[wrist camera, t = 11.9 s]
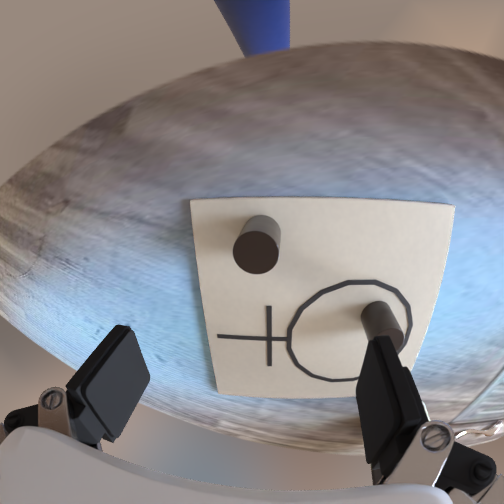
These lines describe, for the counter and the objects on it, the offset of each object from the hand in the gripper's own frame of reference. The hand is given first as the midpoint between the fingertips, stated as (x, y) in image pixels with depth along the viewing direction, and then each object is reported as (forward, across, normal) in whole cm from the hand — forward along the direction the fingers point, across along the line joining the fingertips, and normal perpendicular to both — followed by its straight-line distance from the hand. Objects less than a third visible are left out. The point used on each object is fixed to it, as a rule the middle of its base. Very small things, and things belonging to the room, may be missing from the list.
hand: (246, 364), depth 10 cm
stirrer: (+15, -45, +43) cm, 64 cm away
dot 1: (+14, +1, -1) cm, 14 cm away
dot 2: (+14, -10, +7) cm, 19 cm away
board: (+15, -5, +8) cm, 18 cm away
